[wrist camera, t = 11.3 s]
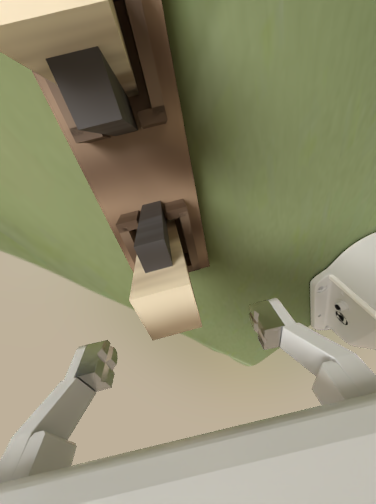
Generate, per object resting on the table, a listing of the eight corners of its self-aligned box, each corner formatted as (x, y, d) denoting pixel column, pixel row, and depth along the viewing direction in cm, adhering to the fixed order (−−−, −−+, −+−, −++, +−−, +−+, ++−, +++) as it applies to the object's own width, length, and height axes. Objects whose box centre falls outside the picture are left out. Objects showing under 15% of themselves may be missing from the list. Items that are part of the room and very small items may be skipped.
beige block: (134, 207, 17) (112, 272, 8) (168, 198, 17) (182, 253, 8) (153, 257, 20) (152, 340, 12) (182, 249, 20) (202, 326, 12)
